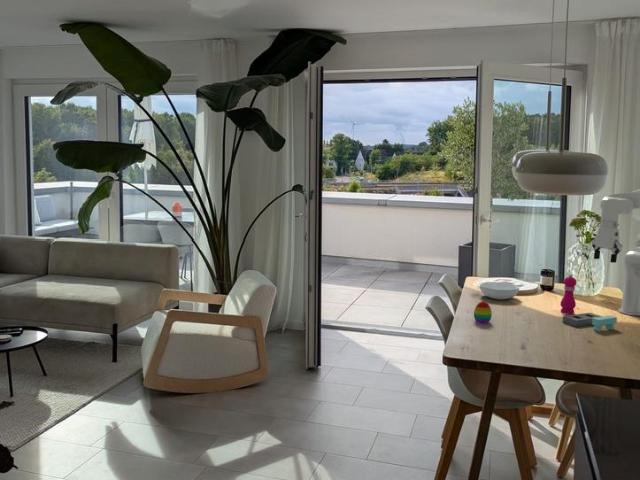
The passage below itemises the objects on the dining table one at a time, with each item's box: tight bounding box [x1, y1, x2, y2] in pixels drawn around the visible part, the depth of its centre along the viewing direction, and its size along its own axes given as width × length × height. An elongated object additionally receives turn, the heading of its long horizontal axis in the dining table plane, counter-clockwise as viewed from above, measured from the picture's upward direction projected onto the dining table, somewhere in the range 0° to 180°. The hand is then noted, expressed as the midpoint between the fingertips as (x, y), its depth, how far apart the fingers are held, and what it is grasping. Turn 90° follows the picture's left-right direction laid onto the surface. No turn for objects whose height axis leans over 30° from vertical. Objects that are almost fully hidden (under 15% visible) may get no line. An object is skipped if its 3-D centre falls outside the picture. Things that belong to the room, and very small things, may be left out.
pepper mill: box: [559, 273, 577, 315], centre depth 329 cm, size 7×7×20 cm
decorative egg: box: [473, 300, 493, 324], centre depth 309 cm, size 8×8×10 cm
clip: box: [592, 315, 618, 332], centre depth 302 cm, size 12×4×6 cm, turn 117°
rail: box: [562, 312, 604, 328], centre depth 313 cm, size 18×8×3 cm, turn 117°
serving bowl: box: [479, 281, 520, 301], centre depth 359 cm, size 21×21×7 cm
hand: (604, 260), depth 310 cm, fingers open, 9 cm apart
